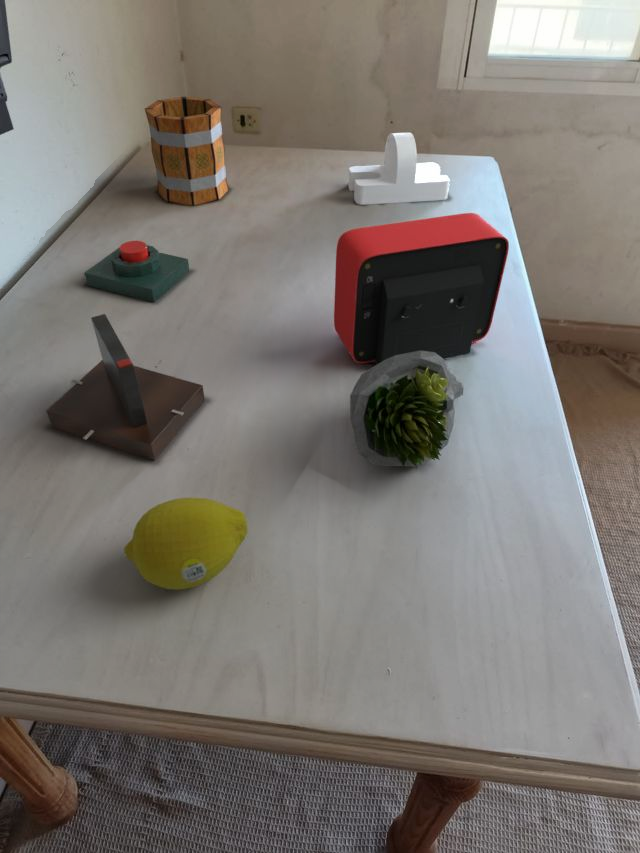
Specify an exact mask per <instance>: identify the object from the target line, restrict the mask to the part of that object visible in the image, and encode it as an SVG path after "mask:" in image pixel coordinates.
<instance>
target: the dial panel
mask: <svg viewBox="0 0 640 853" xmlns="http://www.w3.org/2000/svg"><path fill="white" fill-rule="evenodd" d="M162 363H164V359H163V360H162V359H160V360H159V361H158V362H157V363H156V364H155V365H154V368H157V369H158V368H159V367H160V366H161V365H162ZM134 368H135V372H136V377H137V381H138V385H139V389H140V394H141V398H142V402H143V406H144V410H145V415H146V419H147V423H146V424H143V425H140V426H137V427H133V426H132V424H131V422H130V420H129V418H128V416H127V414H126V412H125V410H124V408H123V406H122V404H121V402H120V400H119V398H118V396H117V394H116V391H115V389H114V387H113V385H112V383H111V381H110V379H109V377H108V375H107V373H106V370H105V366H104V363H103V359H102V360H100V362H98V363H97V364H96V365H95V366H94V367H93V368H92V369H90V371H88V372H87V373H86V374H85V375H84V376H83V377H82V378H80V379H79V380H76V379H72V380H71V381H70V382H71V383H73V384H74V385H72V387H71V388H70V389H68V390H67V391H66V392H64V394H63V395H61V396H60V397H59V399H57V400H56V401H55V402H54V403H53V404H52V405H51V406H49V407H48V409H46V410H45V412H46V415H47V418H48V420H49V422H50V423H49V424H50V425H51V428H55V429H58V430H60V431H64V432H66V433H70V434H73V435H77V436H79V437H81V438H82V439H83V440H85V441H87V439H88V440H92V441H94V442H97V443H99V444H100V443H101V444H102V445H106V446H110V447H112V448H115V449H119V450H122V451H124V452H127V453H131V454H133V455H137V456H140V457H142V458H146V459H149V460H152V461H156V460H157V459H158V458H159V456H160V455H161V454H162V452H163V451H164V450H165V449H166V448H167V447H168V445H169V444H170V443H171V442H172V441H173V439H174V438H175V437H176V436H177V435H178V433H179V432H180V431H181V430H182V429H183V428H184V426H186V425H187V423H188V422H189V421H190V420H191V418H192V417H193V416H194V415H195V413H196V412H197V411H198V410H199V408H200V407H201V406H202V405H203V404H204V403H205V401H206V399H205V392H204V386H203V384H201V383H200V384H199V383H197V382H192V381H189V380H185V379H182V378H179V377H175V376H171V375H168V374H164V373H161V372H158V371H154V370H151V369H147V368H143V367H140V366H137V365H134Z"/></svg>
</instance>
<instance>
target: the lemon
mask: <svg viewBox="0 0 640 853" xmlns="http://www.w3.org/2000/svg"><path fill="white" fill-rule="evenodd" d="M247 535H248V522H247V518H246V515H245V514H244V512H243V511H241V510H239V509H236V508H233V507H230V506H228V505H226V504H225V503H222V502H219V501H215V500H214V499H208V498H204V497H181V498H176V499H172V500H168V501H163V502H162V503H159V504H156V505H155V506H153V507H152V508H150V509H148V510H147V511H146V512H145V513H144V514H142V516H141V517H140V519H139V520H138V521H137V523H136V525H135V527H134V529H133V534H132V538H131V540H130V541H128V543H126V545H125V547H124V555H125V557H126V559H127V560H129V561H131V562H132V563H133V564H134V565H135V566H136V568H137V571H138V572H139V574H140V575H141V577H142V578H143V579H144V580H145V581H146V582H148V583H150V584H151V585H153V586H157V587H160V588H162V589H166V590H174V591H179V590H186V589H191V588H195V587H197V586H201V585H203V584H205V583H207V582H209V581H210V580H213V579H214V578H215V577H217V576H218V575H219V574H220V573H221V572H222V571H224V569H225V568H226V567H227V566H228V565H229V564H230V563H231V561H232V560H233V558H234V556H235V555H236V553H237V551H238V549H239V548H240V546H241V544H242V543H243V541H244V540H245V538H246V537H247Z"/></svg>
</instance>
